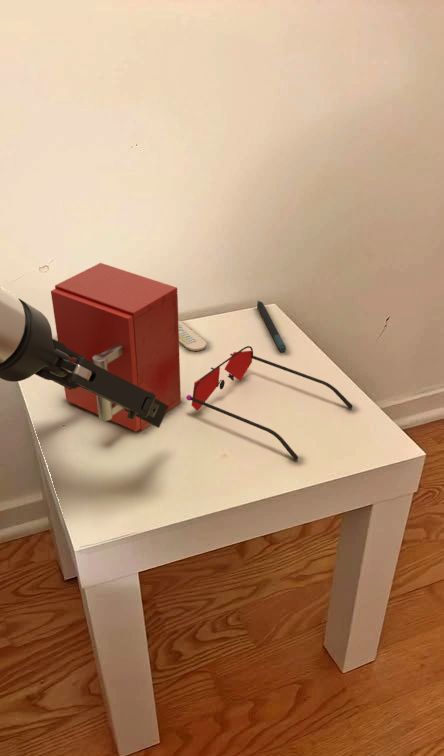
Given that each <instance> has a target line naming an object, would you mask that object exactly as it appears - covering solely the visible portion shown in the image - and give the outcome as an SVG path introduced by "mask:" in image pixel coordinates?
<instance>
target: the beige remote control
mask: <svg viewBox="0 0 444 756" xmlns="http://www.w3.org/2000/svg"><path fill="white" fill-rule="evenodd" d="M178 325H179V344H181V345H182V346H184V347H185V348H186V349H188V351H189V350H190V351H196V352H198V351H202V350H204V349H205V348H206V347H207V342H206V341H205V340H204V339H203V338H202V337H201V336H200V335H198V334H197V333H195V331H193V330H192V329H191V328H190V327H189V326H187V325H186V324H184V323H183V322H181V320H179V319H178Z"/></svg>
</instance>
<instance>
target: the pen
mask: <svg viewBox="0 0 444 756" xmlns="http://www.w3.org/2000/svg"><path fill="white" fill-rule="evenodd" d="M256 307H257V308H258V311H259V313H260V315H261V316H262V318H263V321H264V323H265V325H266V326H267V328H268V330H269V332H270V334H271V336H272V338H273V341H274V342H275V344H276V346H277V348H278V350H279V351H280V352H282V353H284V352H285V351H286V350H287V348H286V347H287V346H286V345H285V343H284V341H283V339H282V337H281V335H280V333H279V331H278V329H277V327H276V326H275V323H274V322H273V319H272V318H271V316H270V314H269V312H268V310H267V307H266V306H265V304H264V303H263V302H262V301H260V300H257V303H256Z"/></svg>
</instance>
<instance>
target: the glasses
mask: <svg viewBox="0 0 444 756" xmlns="http://www.w3.org/2000/svg"><path fill="white" fill-rule="evenodd" d="M246 349H250V350H246ZM229 355H230V357H229V358H226V359H225V360H224V361H223V362H222V363H220V364H219V365H217V366H216V367H210V371H209V372H208V373H206V374H205V375H203V376H202V377H200V378H198V379H197V380H195V381H194V383H193V389H192V390H193V391H192V395H191V394H187V395H186V396H185V399H186V400H187V401H191V406H192V408H193V409H194V410H195V411H197V412H199V411H200V409H201V408H202V406H204V407H207V408H209V409H211V410H214V411H216V412H219V413H221V414H222V415H223V414H224V415H226V416H229V417H231V418H234V419H236V420H238V421H241V422H243V423H246V424H248V425H250V426H253V427H255V428H258V429H260V430H262V431H265V432H267V433H269V434H270V435H272V436H274V437H275V438H276V439H277V440H278V441H279V442H280V444H281V445H282V446H283V448H285V450H286V451H287V452H288V453H289V455H290V456H291V457H292V459H293V460H295V461H298V459H299V456H298V454H297V453H296V452H295V451H294V450H293V448H292V447H291V446H290V445H289V444H288V443H287V442H286V440H285V439H284V438H283V437H282V436H281V435H280V434H278V433H277V432H276V431H274V430H273V429H271V428H269V427H267V426H264V425H261V424H260V423H256V422H254V421H252V420H249V419H247V418H245V417H242V416H240V415H237V414H235V413H232V412H230V411H227V410H225V409H222V408H220V407H217V406H214V405H213V404H210V403H208V402H206V401H207V400H208V399H209V398H210V397H211V395H212V394H213V393H214V391H215V390H216V389H217V388H218V387H219V390H223V389H224V387H225V383H226V382H225V379H220V374H221V373H220V372H221V367H222V366H223V365H225V364H226V365H225V367H224V371H225V372H227V373H228V375H227V378H228V379H230V380H231V381H233V382H234V381H235V379H236V380H238V381H240V382H241V381H242V379H244V378H243V377H244V376H245V374H246V373H247V371H248V369H249V368H250V366H251V365H252V363H253V360H255V361H258V362H261V363H264V364H267V365H269V366H272V367H274V368H278V369H279V370H283V371H285V372H287V373H288V372H289V373H291V374H293V375H297V376H299V377H302V378H305V379H307V380H310V381H313V382H317V383H319V384H321V385H323V386H325V387H327V388H329V389H330V390H331V391H332V392H333V393H334V394H335V395H336V396H337V397H338V398H339V399H340V401H342V402H343V404H344V405H346V406H347V408H348V409H353V404H352V403H351V402H350V401H349V400H348V399H347V398H346V397H345V396H344V395H343V394H342V393H341V392H340V391H339V390H338V389H337V388H336V387H334V385H332V384H330V383H329V382H327V381H325V380H322V379H320V378H317V377H314V376H311V375H308V374H306V373H302V372H299V371H297V370H294V369H293V368H292V369H291V368H289V367H286V366H284V365H280V364H278V363H275V362H272V361H269V360H267V359H263V358H262V357H258V356H256V355H254V349H253V347H252V346H250V345H247V346H244V347H242V348H241V349H240V350H238V351H233V353H230V354H229Z"/></svg>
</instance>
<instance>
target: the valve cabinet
mask: <svg viewBox="0 0 444 756" xmlns="http://www.w3.org/2000/svg"><path fill="white" fill-rule="evenodd" d="M54 289H58V290H61V291H64V292H66V293H69V294H72V295H75V296H78V297H80V298H83V299H86V300H89V301H92V302H94V303H97V304H100V305H103V306H106V307H109V308H111V309H114V310H117V311H120V312H123V313H125V314H128V315H131V316H133V326H134V340H135V354H136V368H137V383H138V387H140V388H142V389H144V390H146V391H148V392H152V393H154V395H156V399H158V400H159V401H161V402H163V403H165V404H166V405H168V406H169V407H168V409H167V411H166V413H165V415H166V414H168V412H170V411H171V410H173V409H174V408H175V407H176V406H178V405H179V404H180V403H182V397H181V395H182V394H181V393H182V392H181V366H180V365H181V362H180V342H179V325H178V320H179V298H178V297H179V295H178V287H177V286H173V285H171V284H168V283H164V282H162V281H158V280H155V279H152V278H148V277H146V276H143V275H139V274H136V273H133V272H130V271H126V270H124V269H121V268H118V267H115V266H112V265H109V264H105V263H103V262H99V263H97V264H95V265H93V266H91V267H89V268H88V269H85V270H83V271H81V272H79V273H77V274H75V275H73V276H70V277H69V278H66V279H65V280H63V281H60V282H59V283H56V284H54ZM140 425H141V429H139V430H138V431H140V432H143V431H145V429H147V428H149V426H151V425H152V424H150V423H148V422H146V421H144V420H142V419H140Z"/></svg>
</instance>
